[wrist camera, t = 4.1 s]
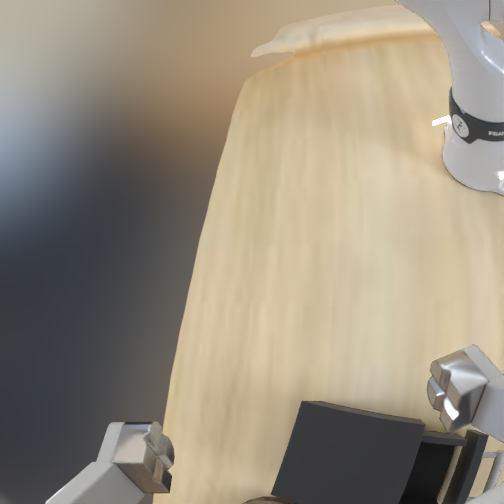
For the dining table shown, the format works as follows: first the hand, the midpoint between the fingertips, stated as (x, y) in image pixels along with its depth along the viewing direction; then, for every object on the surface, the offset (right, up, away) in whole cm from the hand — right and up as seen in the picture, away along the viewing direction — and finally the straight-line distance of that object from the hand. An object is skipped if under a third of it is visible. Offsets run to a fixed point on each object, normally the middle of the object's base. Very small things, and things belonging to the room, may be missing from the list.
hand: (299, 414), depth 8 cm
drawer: (+22, -23, +21) cm, 38 cm away
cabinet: (+13, -23, +27) cm, 38 cm away
